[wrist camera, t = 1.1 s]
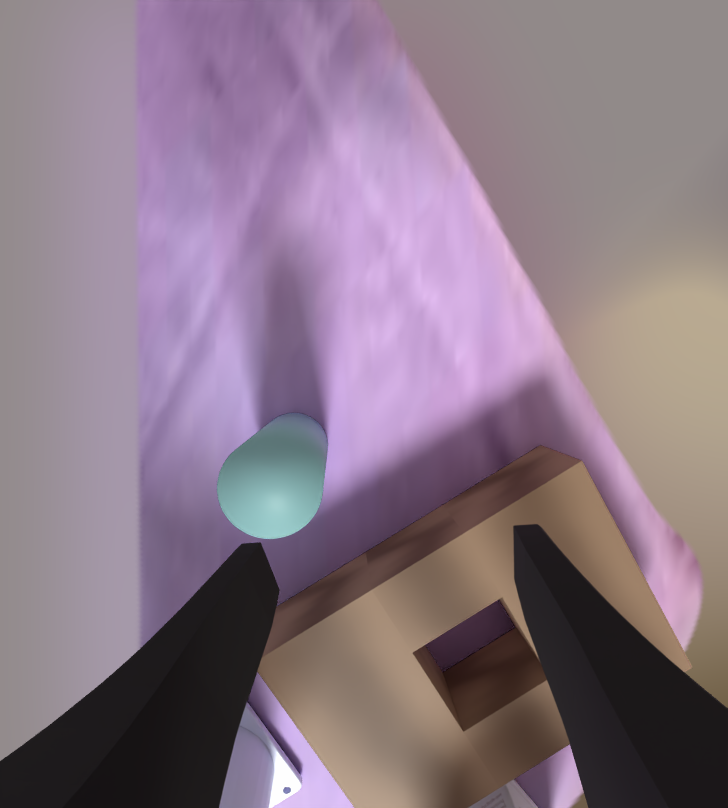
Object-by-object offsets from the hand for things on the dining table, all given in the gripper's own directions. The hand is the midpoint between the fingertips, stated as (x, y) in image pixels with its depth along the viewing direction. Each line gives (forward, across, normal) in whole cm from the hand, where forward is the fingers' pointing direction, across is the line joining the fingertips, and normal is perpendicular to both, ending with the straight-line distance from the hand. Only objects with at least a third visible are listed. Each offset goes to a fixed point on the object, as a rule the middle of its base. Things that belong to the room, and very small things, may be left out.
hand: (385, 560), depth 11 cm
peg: (+11, +6, +2) cm, 13 cm away
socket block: (+8, -2, +15) cm, 17 cm away
